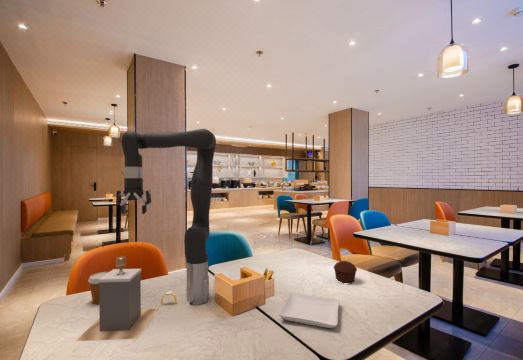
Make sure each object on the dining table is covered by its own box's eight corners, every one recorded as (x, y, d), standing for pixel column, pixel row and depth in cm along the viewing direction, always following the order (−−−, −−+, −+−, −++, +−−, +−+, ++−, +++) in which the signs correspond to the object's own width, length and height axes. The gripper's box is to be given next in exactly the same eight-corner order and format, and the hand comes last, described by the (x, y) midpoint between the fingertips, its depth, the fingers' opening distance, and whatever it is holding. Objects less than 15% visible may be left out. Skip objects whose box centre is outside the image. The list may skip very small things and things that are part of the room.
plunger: (134, 309, 100) (134, 254, 100) (126, 318, 93) (126, 260, 93) (116, 309, 100) (115, 255, 100) (106, 319, 93) (106, 260, 93)
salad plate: (339, 306, 111) (339, 298, 111) (337, 334, 91) (337, 324, 91) (290, 299, 118) (290, 291, 118) (277, 324, 98) (277, 314, 98)
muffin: (359, 279, 140) (359, 260, 140) (354, 287, 130) (354, 266, 130) (336, 275, 146) (336, 257, 146) (330, 282, 137) (330, 262, 137)
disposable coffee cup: (102, 309, 109) (102, 280, 109) (82, 307, 111) (82, 278, 111) (119, 299, 118) (119, 272, 118) (100, 297, 120) (100, 270, 120)
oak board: (158, 311, 107) (158, 308, 107) (138, 341, 87) (138, 338, 87) (107, 312, 106) (107, 310, 106) (75, 343, 86) (75, 340, 86)
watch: (176, 305, 113) (177, 291, 113) (175, 308, 110) (176, 293, 110) (161, 305, 112) (162, 291, 112) (160, 308, 110) (161, 293, 110)
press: (141, 315, 102) (141, 268, 102) (129, 330, 92) (129, 278, 92) (110, 316, 101) (109, 269, 101) (94, 331, 91) (94, 279, 91)
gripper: (112, 177, 113) (113, 215, 113) (147, 177, 114) (147, 214, 114) (121, 177, 121) (121, 213, 121) (153, 177, 121) (153, 212, 121)
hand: (133, 213), depth 117 cm, fingers open, 8 cm apart
